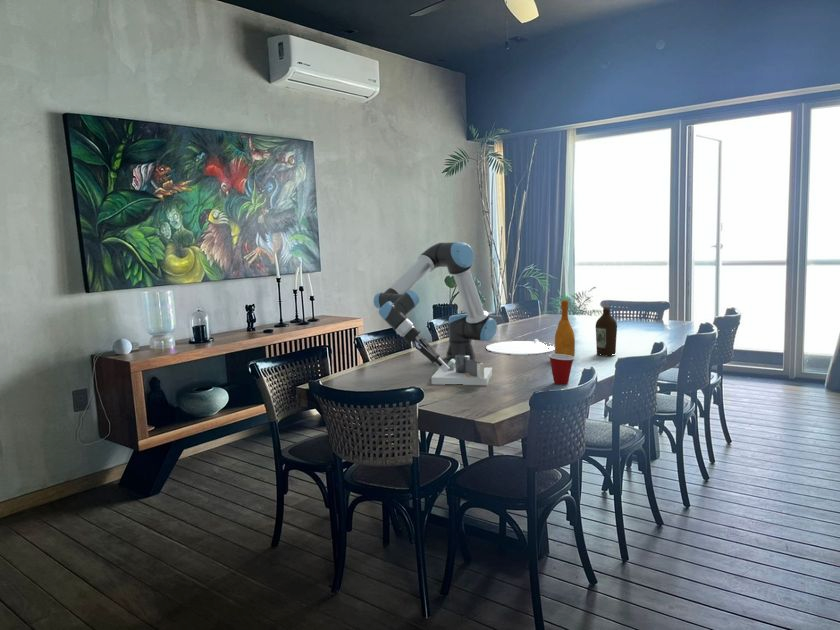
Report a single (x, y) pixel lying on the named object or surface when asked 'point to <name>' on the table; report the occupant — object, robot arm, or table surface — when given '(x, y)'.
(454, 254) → the robot arm
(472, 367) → the dark grey lever
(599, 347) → the olive oil
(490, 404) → the table surface
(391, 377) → the table surface
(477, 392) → the table surface
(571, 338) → the wine bottle
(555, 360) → the plastic cup
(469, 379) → the instrument base
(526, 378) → the table surface
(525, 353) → the lazy susan
